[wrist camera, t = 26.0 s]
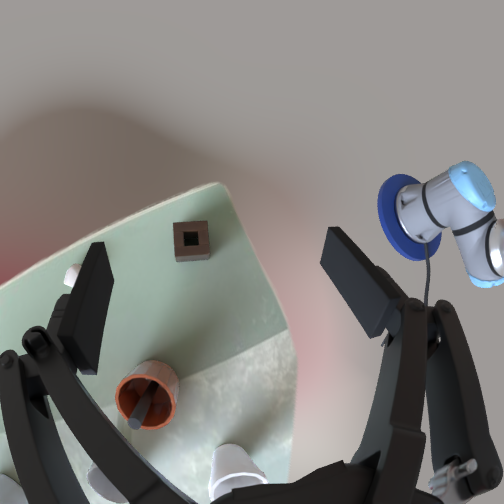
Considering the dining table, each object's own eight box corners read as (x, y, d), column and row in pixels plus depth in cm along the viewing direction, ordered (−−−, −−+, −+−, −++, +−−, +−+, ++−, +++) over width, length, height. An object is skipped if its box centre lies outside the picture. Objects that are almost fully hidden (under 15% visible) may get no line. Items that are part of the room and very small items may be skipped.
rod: (160, 385, 41) (143, 426, 24) (153, 389, 41) (133, 431, 23) (155, 378, 41) (135, 415, 24) (148, 382, 41) (124, 420, 24)
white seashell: (91, 283, 43) (86, 281, 40) (70, 294, 41) (64, 293, 39) (83, 261, 43) (78, 259, 41) (63, 272, 42) (57, 271, 39)
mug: (112, 433, 37) (97, 457, 28) (152, 459, 38) (146, 487, 28) (88, 467, 34) (73, 491, 24) (125, 491, 34) (116, 517, 24)
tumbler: (188, 392, 42) (187, 415, 32) (148, 412, 40) (138, 437, 29) (162, 351, 43) (152, 363, 32) (122, 372, 41) (104, 388, 30)
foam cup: (196, 445, 40) (199, 482, 28) (243, 430, 43) (259, 464, 30) (216, 478, 39) (224, 517, 27) (259, 464, 41) (278, 500, 29)
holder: (208, 259, 48) (210, 254, 43) (176, 262, 47) (174, 256, 42) (205, 228, 49) (207, 220, 44) (175, 231, 48) (173, 222, 43)
